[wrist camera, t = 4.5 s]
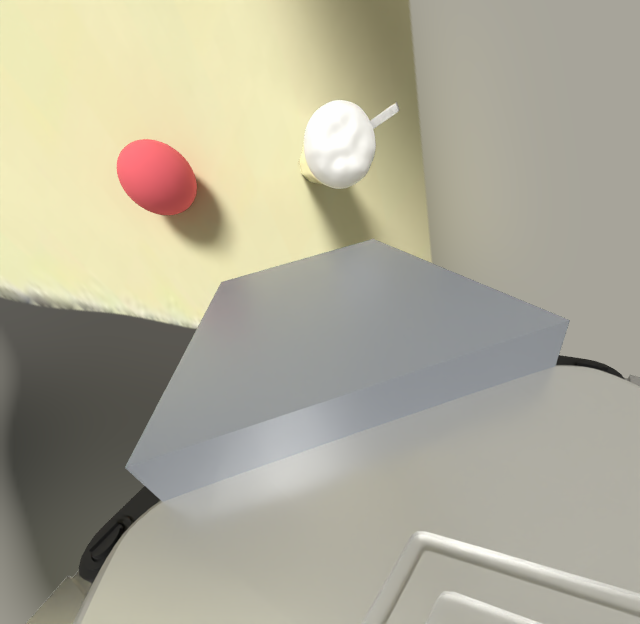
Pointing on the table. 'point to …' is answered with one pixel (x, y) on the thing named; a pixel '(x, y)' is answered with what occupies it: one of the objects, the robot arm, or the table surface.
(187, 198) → the ball
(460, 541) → the robot arm
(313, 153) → the milkshake
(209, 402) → the grey cube
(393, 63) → the table surface
